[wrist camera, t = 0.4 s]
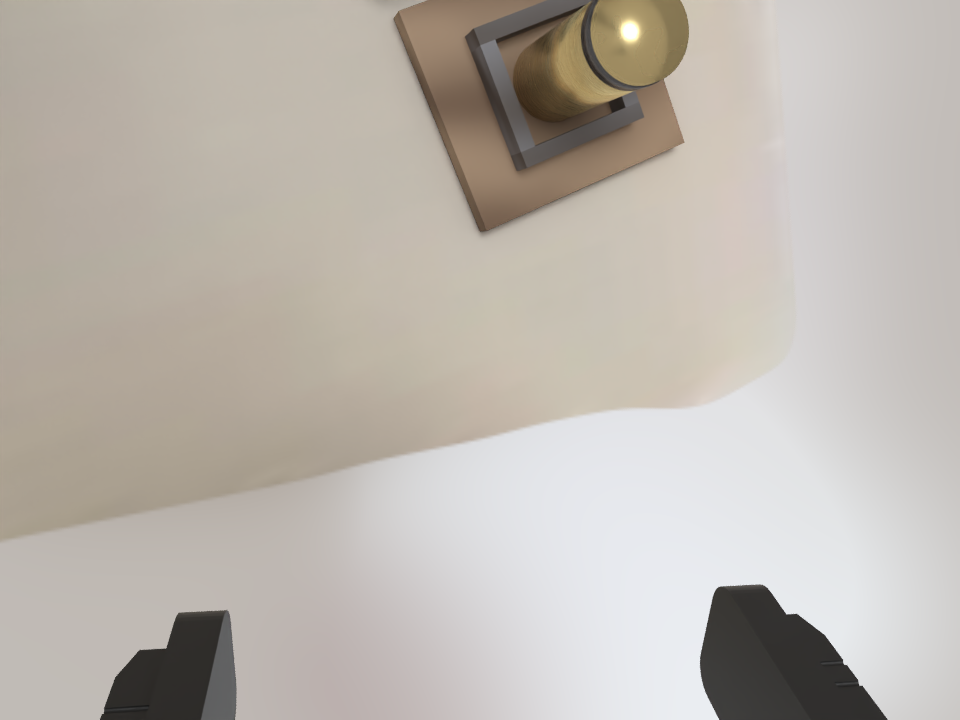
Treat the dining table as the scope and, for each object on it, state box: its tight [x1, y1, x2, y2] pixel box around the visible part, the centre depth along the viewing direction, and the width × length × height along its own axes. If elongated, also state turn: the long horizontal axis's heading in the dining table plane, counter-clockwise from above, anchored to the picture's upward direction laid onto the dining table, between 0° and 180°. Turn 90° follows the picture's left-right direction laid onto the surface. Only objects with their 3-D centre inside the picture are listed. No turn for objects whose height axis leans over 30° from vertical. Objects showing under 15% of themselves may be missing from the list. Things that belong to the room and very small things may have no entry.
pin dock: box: [394, 0, 684, 231], centre depth 40 cm, size 11×12×3 cm
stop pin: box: [513, 0, 689, 122], centre depth 35 cm, size 4×4×10 cm
